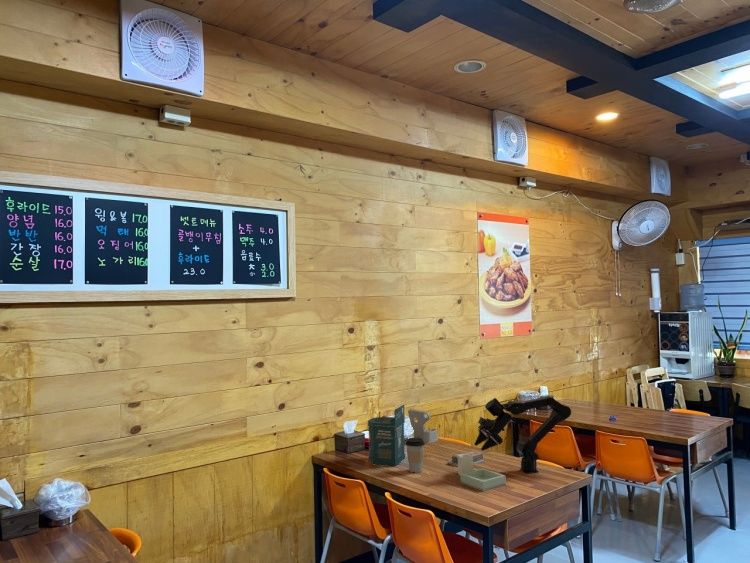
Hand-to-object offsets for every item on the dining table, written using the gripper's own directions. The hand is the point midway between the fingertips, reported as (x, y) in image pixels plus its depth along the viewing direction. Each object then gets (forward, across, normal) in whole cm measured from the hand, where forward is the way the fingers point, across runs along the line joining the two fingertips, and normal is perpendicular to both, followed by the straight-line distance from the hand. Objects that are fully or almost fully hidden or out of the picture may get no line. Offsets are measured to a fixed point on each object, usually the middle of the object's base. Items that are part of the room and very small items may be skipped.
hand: (478, 447), depth 266 cm
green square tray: (+11, +14, +7) cm, 19 cm away
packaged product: (+9, -20, +10) cm, 24 cm away
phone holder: (+16, -71, +2) cm, 73 cm away
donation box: (+37, -31, -18) cm, 52 cm away
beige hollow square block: (+13, 0, +4) cm, 14 cm away
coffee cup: (+29, -11, -11) cm, 33 cm away
